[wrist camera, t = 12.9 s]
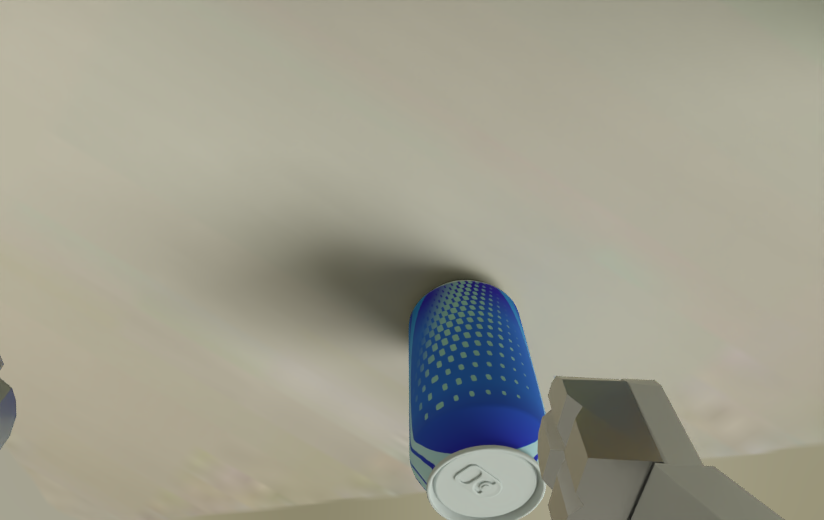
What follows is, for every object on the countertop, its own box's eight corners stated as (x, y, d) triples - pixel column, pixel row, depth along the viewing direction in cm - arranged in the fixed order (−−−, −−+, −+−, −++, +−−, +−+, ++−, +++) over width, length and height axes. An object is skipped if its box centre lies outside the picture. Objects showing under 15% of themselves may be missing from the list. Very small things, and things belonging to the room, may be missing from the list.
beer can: (516, 265, 45) (565, 429, 31) (518, 353, 49) (561, 532, 35) (402, 276, 45) (401, 443, 31) (414, 362, 49) (417, 543, 36)
